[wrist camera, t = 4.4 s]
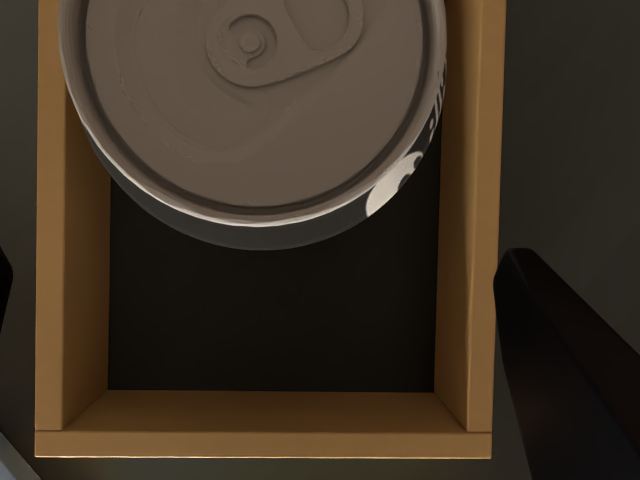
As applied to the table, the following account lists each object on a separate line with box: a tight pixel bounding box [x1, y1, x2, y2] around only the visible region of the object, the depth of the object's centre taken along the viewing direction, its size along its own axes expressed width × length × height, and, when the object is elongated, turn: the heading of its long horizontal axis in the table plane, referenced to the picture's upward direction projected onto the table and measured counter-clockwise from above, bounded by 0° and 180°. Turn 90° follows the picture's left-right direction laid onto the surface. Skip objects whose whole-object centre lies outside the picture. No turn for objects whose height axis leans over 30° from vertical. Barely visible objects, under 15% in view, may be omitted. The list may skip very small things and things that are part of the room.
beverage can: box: [58, 0, 447, 250], centre depth 14 cm, size 7×7×12 cm
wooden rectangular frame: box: [35, 0, 506, 459], centre depth 18 cm, size 17×14×4 cm
